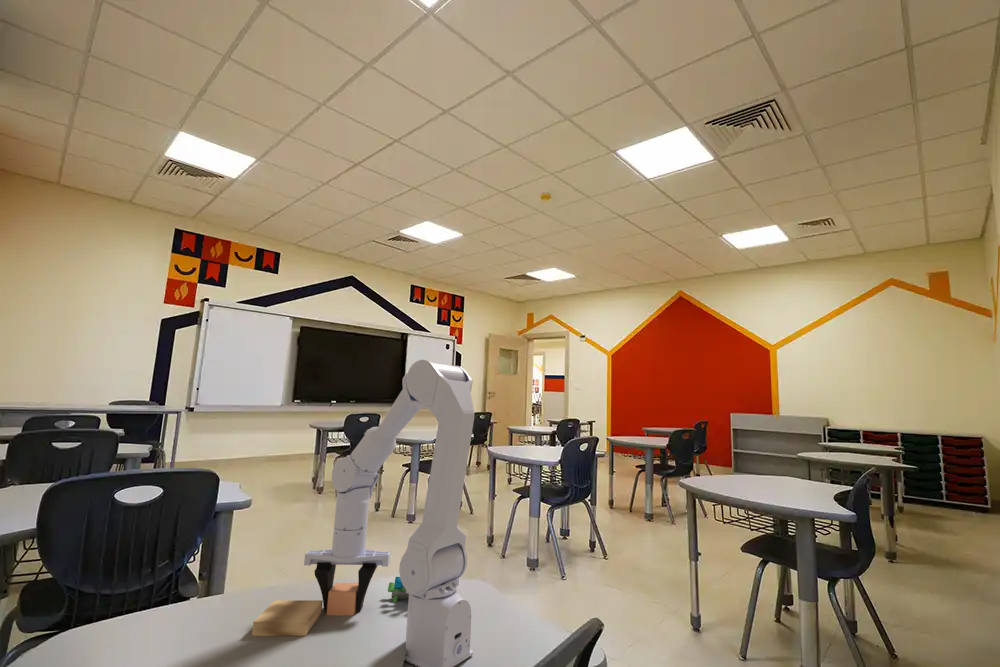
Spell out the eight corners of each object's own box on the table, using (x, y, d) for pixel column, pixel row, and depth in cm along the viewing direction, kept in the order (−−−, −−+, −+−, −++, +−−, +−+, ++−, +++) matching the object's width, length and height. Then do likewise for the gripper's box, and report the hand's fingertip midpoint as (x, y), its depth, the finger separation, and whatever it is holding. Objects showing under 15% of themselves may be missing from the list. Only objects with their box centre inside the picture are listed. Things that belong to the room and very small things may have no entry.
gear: (452, 590, 89) (441, 563, 84) (449, 623, 85) (437, 597, 79) (397, 595, 90) (383, 568, 85) (391, 627, 85) (375, 601, 80)
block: (358, 613, 82) (361, 582, 83) (352, 624, 78) (355, 592, 79) (333, 612, 82) (336, 582, 83) (325, 624, 77) (328, 592, 78)
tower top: (321, 613, 78) (322, 600, 79) (305, 635, 70) (307, 621, 71) (273, 613, 78) (274, 600, 78) (251, 635, 70) (253, 621, 70)
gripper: (394, 522, 87) (389, 600, 84) (316, 520, 86) (308, 599, 84) (388, 531, 80) (382, 616, 78) (303, 530, 79) (294, 616, 77)
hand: (343, 608), depth 80 cm, fingers open, 5 cm apart
